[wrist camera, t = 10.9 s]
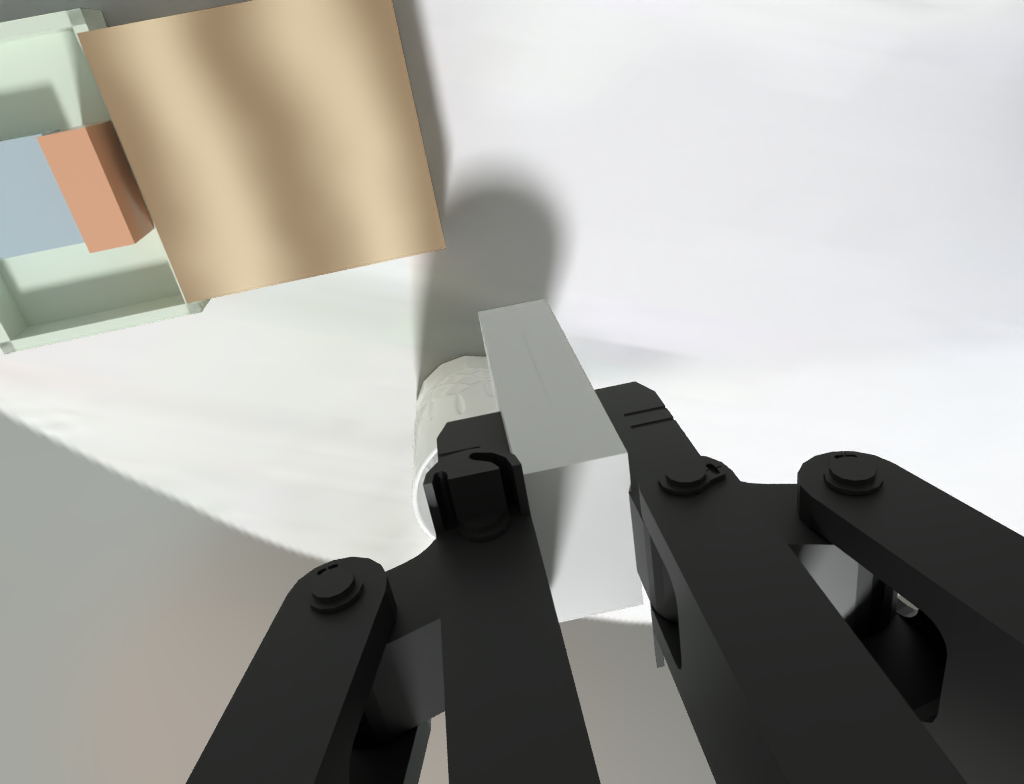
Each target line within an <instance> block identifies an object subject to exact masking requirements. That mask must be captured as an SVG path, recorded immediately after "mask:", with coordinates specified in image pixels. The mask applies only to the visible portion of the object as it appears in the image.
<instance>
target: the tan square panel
mask: <svg viewBox="0 0 1024 784" xmlns="http://www.w3.org/2000/svg"><path fill="white" fill-rule="evenodd" d="M77 36H78V38H79V40H80V43H81V45H82V48H83V50H84V53H85V55H86V58H87V60H88V62H89V65H90V67H91V70H92V72H93V75H94V77H95V80H96V82H97V85H98V87H99V89H100V92H101V94H102V97H103V99H104V102H105V104H106V107H107V109H108V111H109V114H110V116H111V119H112V121H113V124H114V126H115V129H116V131H117V134H118V136H119V138H120V141H121V143H122V146H123V148H124V151H125V153H126V156H127V158H128V160H129V163H130V165H131V168H132V170H133V173H134V175H135V178H136V180H137V183H138V185H139V187H140V190H141V192H142V195H143V197H144V200H145V202H146V205H147V207H148V210H149V212H150V214H151V217H152V219H153V222H154V224H155V227H156V229H157V232H158V234H159V236H160V239H161V241H162V244H163V246H164V249H165V251H166V254H167V256H168V259H169V261H170V263H171V266H172V268H173V271H174V273H175V276H176V278H177V281H178V283H179V285H180V288H181V290H182V293H183V295H184V298H185V300H186V303H192V302H196V301H201V300H206V299H210V298H215V297H220V296H224V295H229V294H234V293H239V292H243V291H248V290H253V289H257V288H262V287H267V286H272V285H276V284H281V283H286V282H290V281H295V280H300V279H304V278H309V277H314V276H319V275H323V274H328V273H333V272H337V271H342V270H347V269H351V268H356V267H361V266H366V265H370V264H375V263H380V262H384V261H389V260H394V259H398V258H403V257H408V256H413V255H417V254H422V253H427V252H431V251H436V250H441V249H446V245H445V241H444V236H443V232H442V227H441V222H440V218H439V213H438V209H437V204H436V200H435V195H434V190H433V186H432V181H431V177H430V172H429V168H428V163H427V158H426V154H425V149H424V145H423V140H422V136H421V131H420V127H419V122H418V117H417V113H416V108H415V104H414V99H413V95H412V90H411V85H410V81H409V76H408V72H407V67H406V63H405V58H404V53H403V49H402V44H401V40H400V35H399V31H398V26H397V21H396V17H395V12H394V8H393V3H392V0H252V1H247V2H241V3H236V4H231V5H225V6H220V7H215V8H209V9H204V10H199V11H193V12H188V13H183V14H177V15H172V16H167V17H161V18H156V19H151V20H145V21H140V22H135V23H129V24H124V25H119V26H113V27H108V28H103V29H97V30H92V31H86V32H81V33H77Z"/></svg>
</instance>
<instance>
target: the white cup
mask: <svg viewBox="0 0 1024 784" xmlns="http://www.w3.org/2000/svg"><path fill="white" fill-rule="evenodd" d="M494 412H497V408H496V403H495V397H494V392H493V387H492V382H491V377H490V372H489V367H488V362H487V357H481V356H462V357H459V358H456V359H454V360H451V361H448V362H446V363H443V364H441V365H439V366H438V367H437V368H436V369H435V370H434V371H433V372H432V373H431V374H430V375H429V376H428V377H427V378H426V379H425V380H424V382H423V384H422V387H421V390H420V393H419V396H418V399H417V402H416V419H415V425H414V440H413V475H412V504H413V509H414V513H415V516H416V518H417V520H418V522H419V524H420V526H421V527H422V529H423V530H424V531H425V532H426V534H427V535H428V536H429V537H430V538H432V539H433V540H435V539H436V533H435V529H434V525H433V522H432V518H431V514H430V510H429V507H428V503H427V499H426V495H425V492H424V488H423V482H424V479H425V476H426V473H427V472H428V471H429V470H430V469H431V468H432V467H433V466H434V465H435V464H436V463H437V462H438V454H437V437H438V436H439V434H440V432H441V431H442V429H443V428H444V426H445V424H446V423H447V422H451V421H455V420H460V419H465V418H470V417H475V416H480V415H485V414H489V413H494Z"/></svg>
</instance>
